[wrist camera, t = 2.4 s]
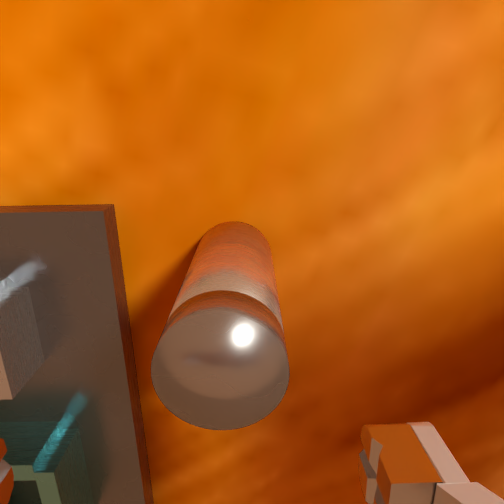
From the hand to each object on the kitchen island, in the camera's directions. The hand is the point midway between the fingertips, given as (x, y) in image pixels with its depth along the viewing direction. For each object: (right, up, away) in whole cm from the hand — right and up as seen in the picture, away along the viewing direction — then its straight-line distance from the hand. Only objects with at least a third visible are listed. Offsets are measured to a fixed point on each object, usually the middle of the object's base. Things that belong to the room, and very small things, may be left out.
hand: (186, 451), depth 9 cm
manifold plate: (-12, -3, +14) cm, 19 cm away
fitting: (+1, +4, +12) cm, 13 cm away
